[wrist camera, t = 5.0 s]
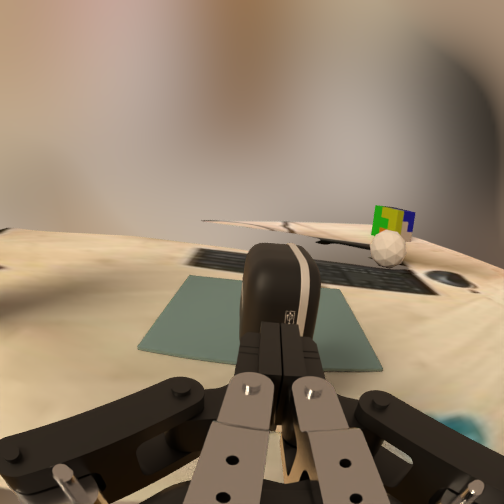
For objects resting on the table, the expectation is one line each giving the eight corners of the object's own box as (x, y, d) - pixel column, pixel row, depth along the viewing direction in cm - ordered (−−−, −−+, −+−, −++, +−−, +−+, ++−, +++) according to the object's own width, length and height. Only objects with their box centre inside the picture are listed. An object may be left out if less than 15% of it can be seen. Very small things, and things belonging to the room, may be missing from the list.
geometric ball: (379, 275, 62) (387, 243, 64) (409, 273, 55) (415, 239, 57) (358, 259, 59) (367, 225, 61) (389, 255, 52) (397, 219, 54)
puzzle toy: (410, 241, 92) (415, 212, 90) (393, 242, 88) (398, 210, 85) (389, 235, 101) (393, 207, 98) (371, 234, 97) (375, 205, 94)
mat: (137, 349, 25) (137, 346, 25) (189, 277, 44) (189, 275, 44) (382, 371, 24) (382, 368, 24) (338, 291, 44) (339, 289, 43)
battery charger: (234, 372, 23) (244, 234, 21) (280, 374, 24) (300, 238, 21) (232, 435, 17) (246, 265, 14) (291, 436, 17) (327, 270, 14)
